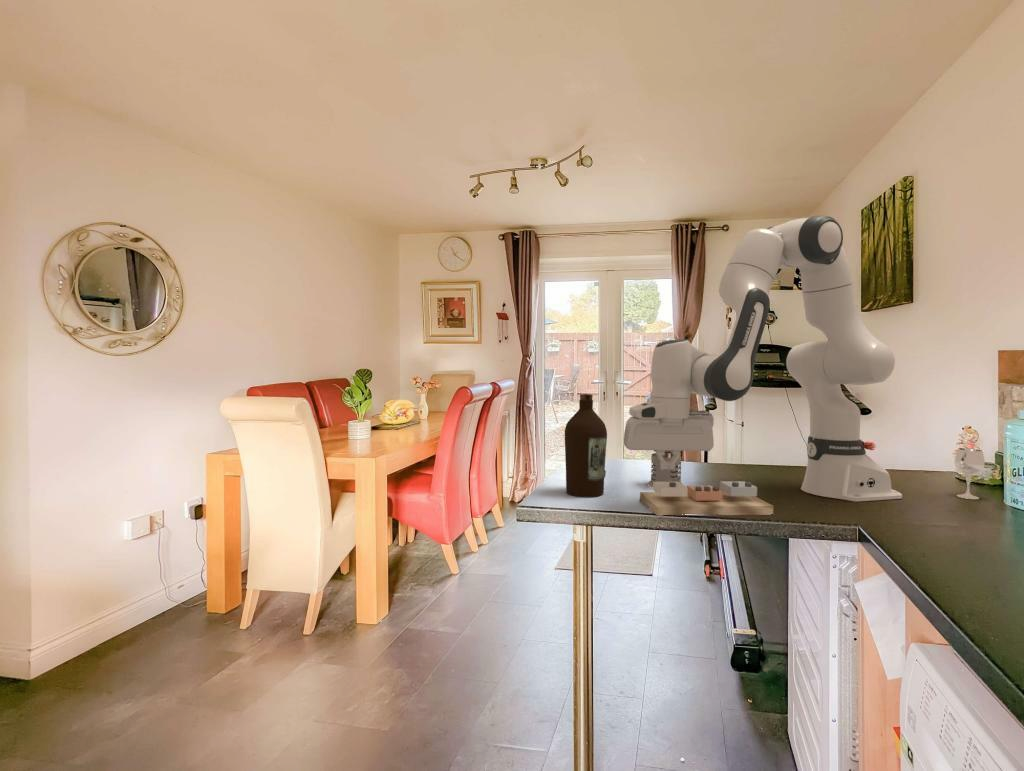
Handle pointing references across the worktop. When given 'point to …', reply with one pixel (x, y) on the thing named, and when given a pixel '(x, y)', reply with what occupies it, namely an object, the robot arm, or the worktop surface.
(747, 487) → the tile two
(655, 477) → the french press
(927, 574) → the worktop surface
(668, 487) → the tile one
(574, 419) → the olive oil
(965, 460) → the wineglass
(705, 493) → the tile three
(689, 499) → the button board
